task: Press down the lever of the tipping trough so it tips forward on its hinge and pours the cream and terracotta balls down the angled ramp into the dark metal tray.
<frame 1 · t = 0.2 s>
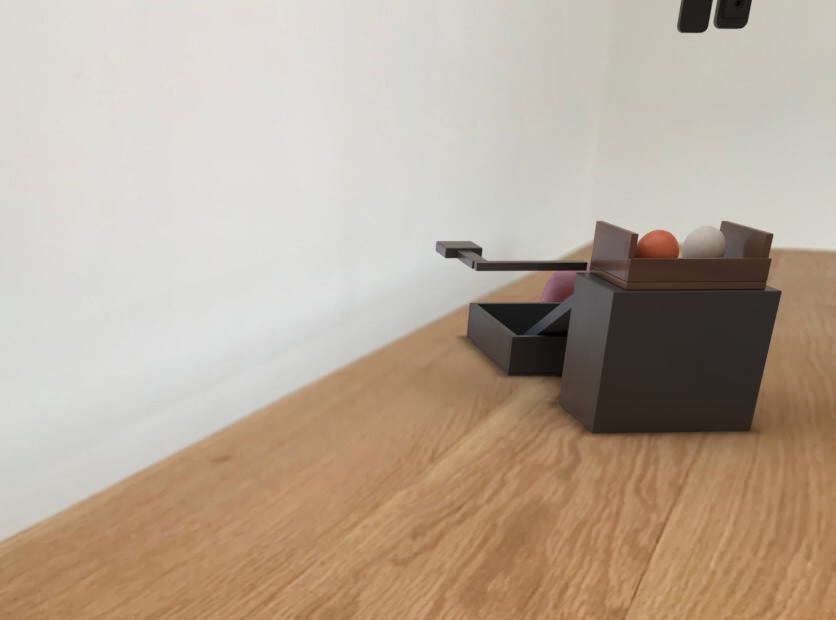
hand: (709, 31, 81), 26 cm above the table, tool pointing down, fingers open, 8 cm apart
ball terracotta: (656, 253, 78), point 12 cm above the table, touching tipping trough with lever
ball cream: (703, 248, 80), point 12 cm above the table, touching tipping trough with lever
plinth: (650, 420, 85), on the table
tipping trough with lever: (589, 243, 83), point 12 cm above the table, hinge at -0.1°, touching ball cream, ball terracotta
video game controller: (583, 325, 118), on the table
angled ramp: (592, 377, 97), resting in tray
donut: (665, 312, 125), on the table
tray: (565, 357, 104), on the table
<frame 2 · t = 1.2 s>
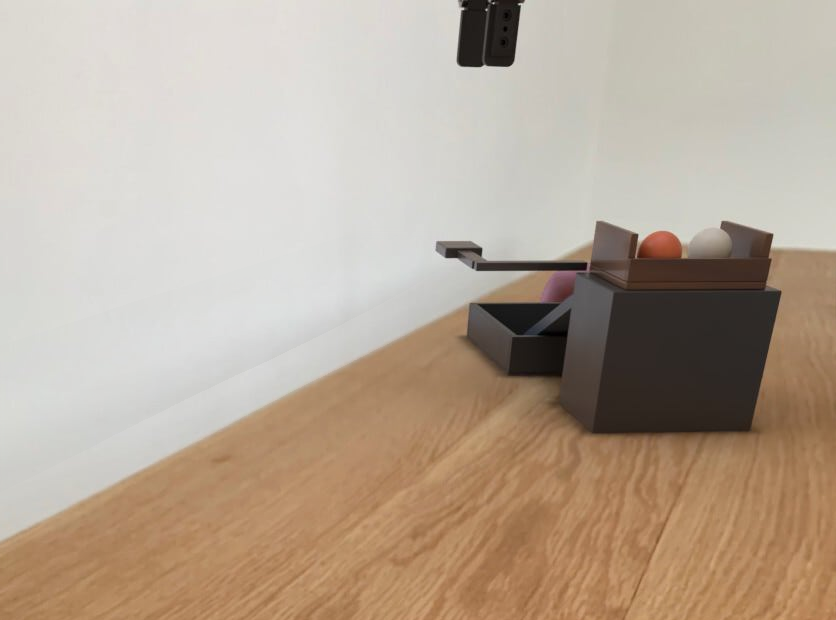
hand: (483, 66, 83), 23 cm above the table, tool pointing down, fingers open, 8 cm apart
ball terracotta: (659, 254, 77), point 12 cm above the table, tilted 25°, touching tipping trough with lever
ball cream: (709, 250, 79), point 12 cm above the table, tilted 42°, touching tipping trough with lever
everything else where it was.
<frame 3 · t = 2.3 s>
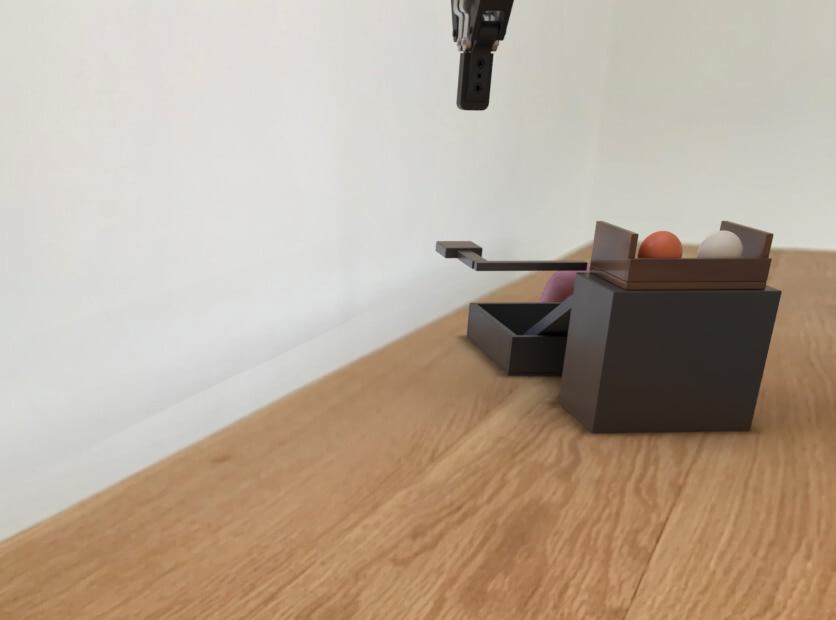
hand: (471, 109, 84), 20 cm above the table, tool pointing down, fingers closed
ball cream: (719, 254, 78), point 12 cm above the table, tilted 109°, touching tipping trough with lever
everything else where it was.
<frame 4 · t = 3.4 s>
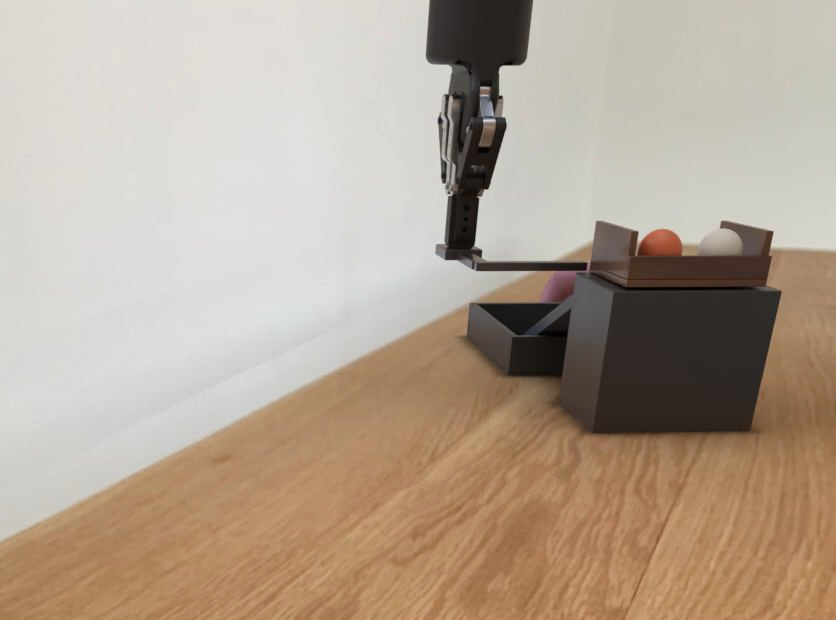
hand: (459, 247, 89), 11 cm above the table, tool pointing down, fingers closed
tipping trough with lever: (589, 244, 83), point 12 cm above the table, hinge at 1.1°, touching ball cream, ball terracotta, gripper
everything else where it was.
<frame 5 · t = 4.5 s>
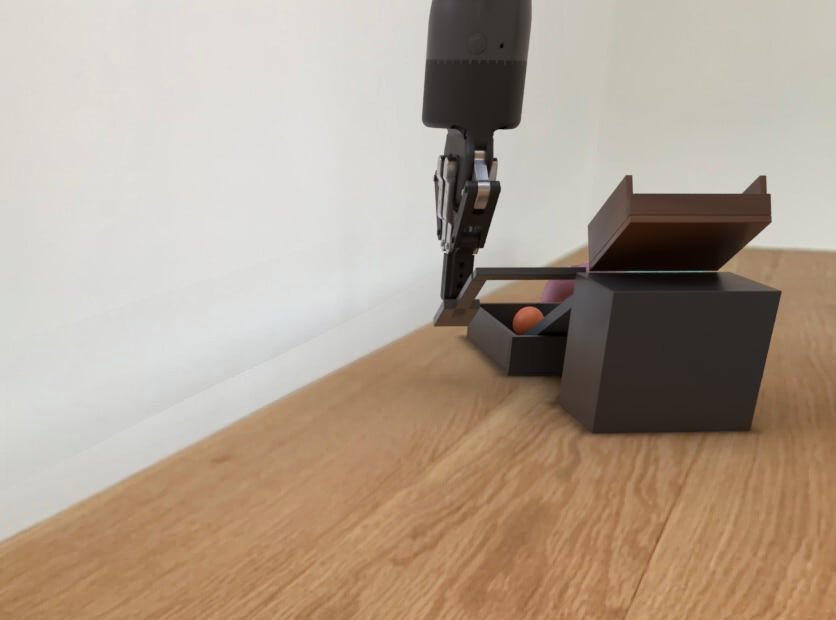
hand: (454, 302, 91), 7 cm above the table, tool pointing down, fingers closed
ball terracotta: (528, 323, 107), point 2 cm above the table, tilted 142°, touching tray
ball cream: (572, 322, 108), point 2 cm above the table, tilted 75°, touching tray
tipping trough with lever: (584, 257, 85), point 11 cm above the table, hinge at 31.1°, touching gripper
everything else where it was.
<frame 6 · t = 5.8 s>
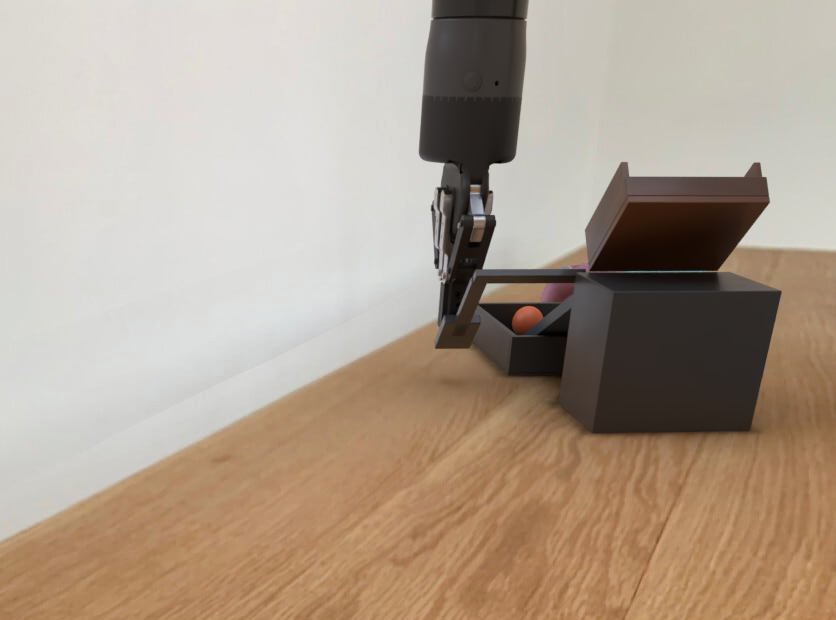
hand: (451, 330, 93), 4 cm above the table, tool pointing down, fingers closed
ball terracotta: (527, 322, 107), point 2 cm above the table, tilted 131°, touching tray
ball cream: (577, 326, 106), point 2 cm above the table, tilted 7°, touching tray
tipping trough with lever: (583, 262, 85), point 10 cm above the table, hinge at 41.3°, touching gripper
everything else where it was.
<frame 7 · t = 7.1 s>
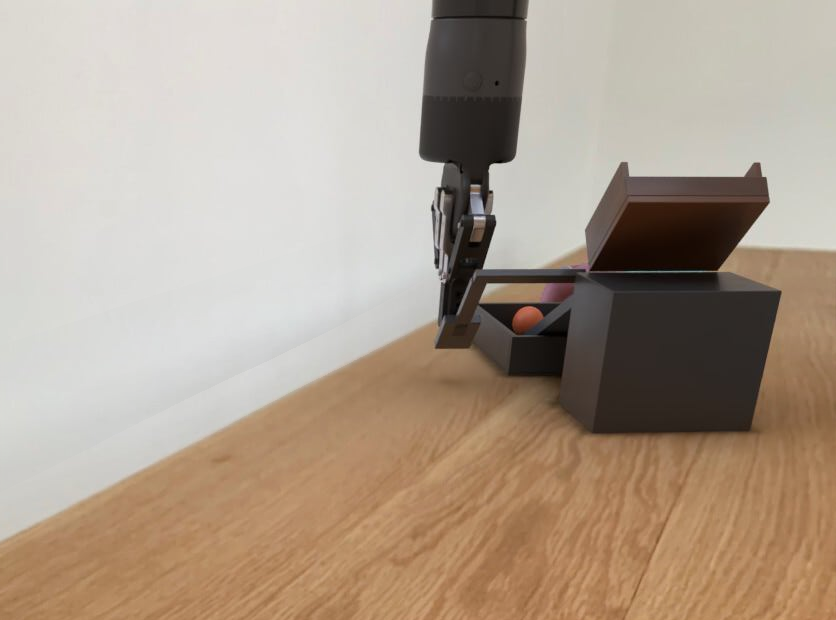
hand: (451, 330, 93), 4 cm above the table, tool pointing down, fingers closed
ball terracotta: (528, 323, 107), point 2 cm above the table, tilted 136°, touching tray
ball cream: (583, 329, 105), point 2 cm above the table, tilted 55°, touching tray
everything else where it was.
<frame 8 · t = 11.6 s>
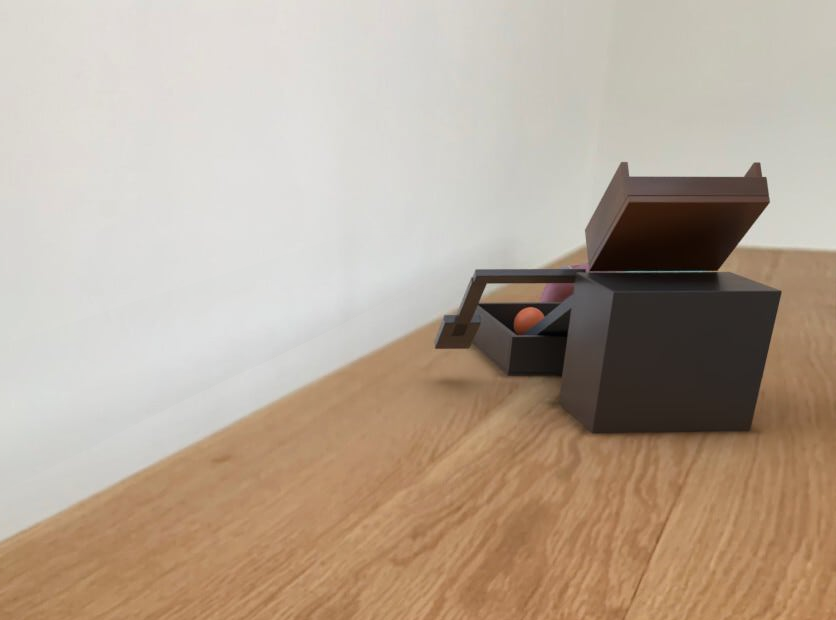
ball terracotta: (529, 323, 107), point 2 cm above the table, tilted 155°, touching tray
ball cream: (579, 327, 106), point 2 cm above the table, tilted 12°, touching tray
tipping trough with lever: (583, 262, 85), point 10 cm above the table, hinge at 41.3°
everything else where it was.
at the end: tipping trough with lever reached +41° during the clip, +41° at the end; ball cream inside the target area in the tray (4.2 cm from its centre), point 2.0 cm above the tray's base; ball terracotta inside the target area in the tray (5.8 cm from its centre), point 2.0 cm above the tray's base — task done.
